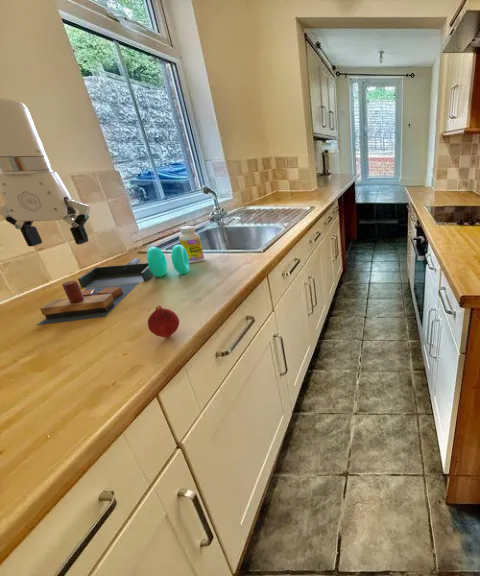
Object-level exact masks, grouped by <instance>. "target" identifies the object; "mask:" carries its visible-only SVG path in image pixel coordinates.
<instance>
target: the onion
mask: <svg viewBox="0 0 480 576" xmlns="http://www.w3.org/2000/svg"><path fill="white" fill-rule="evenodd" d="M179 325H180V319H179V316H178V315H177V314H176V313H175V311H173V310H171V309H169V308H165V307H162V305H161V304H157V305H156V306H155V310H154V311H153V312H152V313H150V315H149V316H148V318H147V327H148V330H149V331H150V332H151V333H152V334H153V335H155V336H157V337H161V338H171V336H172V335H174V334H175V333H176V332H177V330H178V328H179Z"/></svg>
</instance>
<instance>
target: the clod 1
mask: <svg viewBox="0 0 480 576" xmlns="http://www.w3.org/2000/svg"><path fill="white" fill-rule="evenodd" d="M83 290H84V291H83ZM83 290H81V292H82V295H83V297H85V296H94V295H97V294H96V292H95V289H90V290H85V289H83Z"/></svg>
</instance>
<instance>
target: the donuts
mask: <svg viewBox="0 0 480 576" xmlns="http://www.w3.org/2000/svg"><path fill="white" fill-rule="evenodd" d="M170 256H171V263H172V265H173V268H174V270H175V271H176V272H177V273H179V274H181V275H185V274H187V273H188V272H189V271H190V263H189V260H188V255H187V252H186V250H185V248H184V247H183V246H182V245H181V244H175V245H174V246H173V247H172V249H171V252H170ZM146 261H147V263H148V265H149V268H150V271H151V272H152V276H154V277H156V278H162V277H163V276H165V274H166V273H167V271H168V263H167V258H166V255H165V253H164V252H163V250H162V249H161V248H159V247H157V246H152V247H149V248H148V249H147V252H146Z"/></svg>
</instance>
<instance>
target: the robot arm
mask: <svg viewBox="0 0 480 576" xmlns="http://www.w3.org/2000/svg"><path fill="white" fill-rule="evenodd" d="M0 171H1V173H0V191H1V194H2V197H3V200H4V202H5V204H3V205H2V206H0V215H1V216H2V217H3V218H4V219H5V221H6V222H7V223H9V224H11V225H12V226H14V228H15V229H17V230H20V232H21V235H22V237H23V240H24V241H25V242H26V244H27V246H28V247H34V246H38V245H40V244H41V245H42V243H43V240H42V238H41V235H40V234H39V231H38V228H37V227H36V226H35V225H33V223H34V222H48V221H49V222H50V221H60V220H63V221H64V222H65V223H67V224H68V225H70V226H71V227H69V230H70V232H71V235H72V237H73V240H74V242H75V244H76V245H83V244H85V243H87V242H89V236H88V233H87V230H86V227H85V225H86V222H87V221H88V219H89V217H90V216H89V214H90V210H91V207H90V205H87V204H84V203H81V202H80V201H77V200H74V199H72V197H71V195H70V192H68V189H67V187H66V185H65V183H64V182H63V180H62V178H61V177H60V176H59V174H58V172H56V171H53V168H52V166H51V163H50V160H49V158H48V156H47V153H46V151H45V148H44V146H43V143H42V140H41V138H40V136H39V133H38V130H37V128H36V127H35V124H34V121H33V119H32V116H31V114H30V111H29V109H28V107H27V106H26V105H25V104H24V103H23V102H21V101H19V100H16V99H11V98H3V97H0ZM77 211H78V213H79V214H78V215H77Z"/></svg>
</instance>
